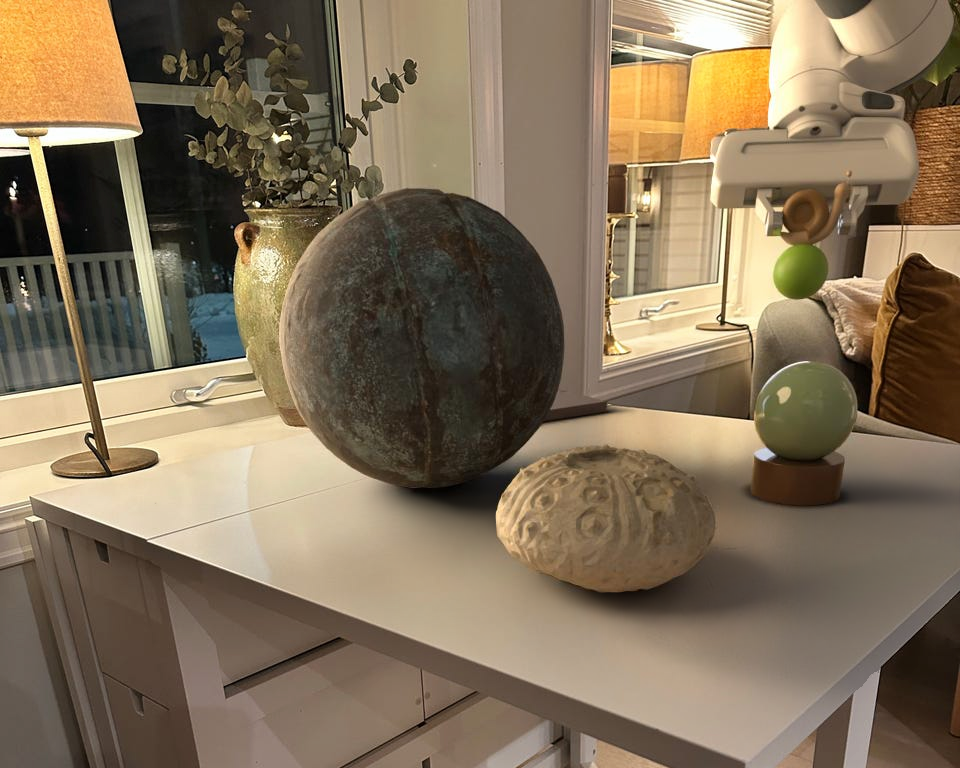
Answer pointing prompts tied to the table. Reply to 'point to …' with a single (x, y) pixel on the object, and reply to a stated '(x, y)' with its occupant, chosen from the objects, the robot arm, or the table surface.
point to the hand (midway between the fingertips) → (811, 231)
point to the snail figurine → (807, 241)
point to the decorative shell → (606, 519)
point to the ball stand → (802, 434)
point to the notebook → (574, 405)
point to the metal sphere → (422, 338)
